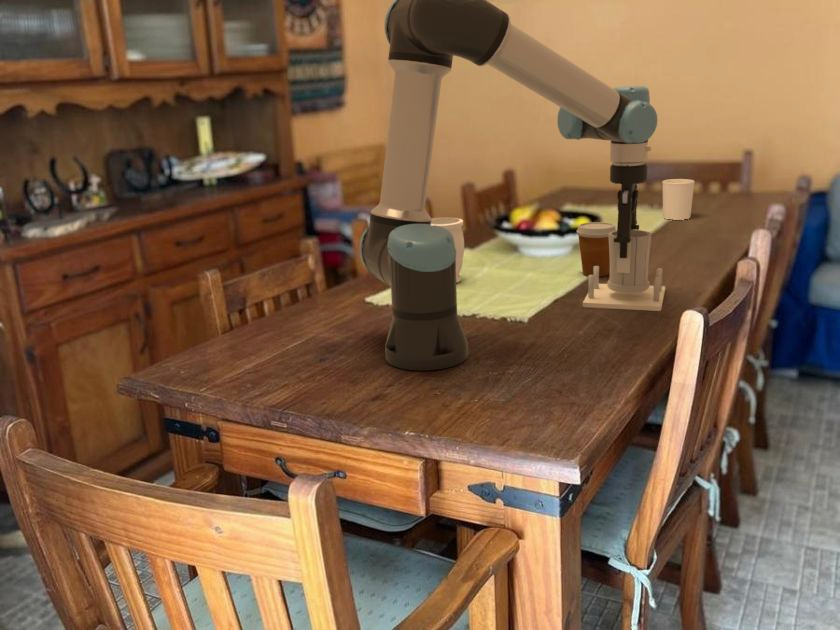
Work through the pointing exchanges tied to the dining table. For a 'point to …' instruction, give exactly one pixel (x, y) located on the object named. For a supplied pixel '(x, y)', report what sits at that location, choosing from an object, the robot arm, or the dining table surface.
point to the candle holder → (677, 198)
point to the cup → (631, 264)
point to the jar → (455, 229)
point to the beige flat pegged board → (624, 295)
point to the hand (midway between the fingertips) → (626, 265)
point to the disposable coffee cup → (595, 246)
